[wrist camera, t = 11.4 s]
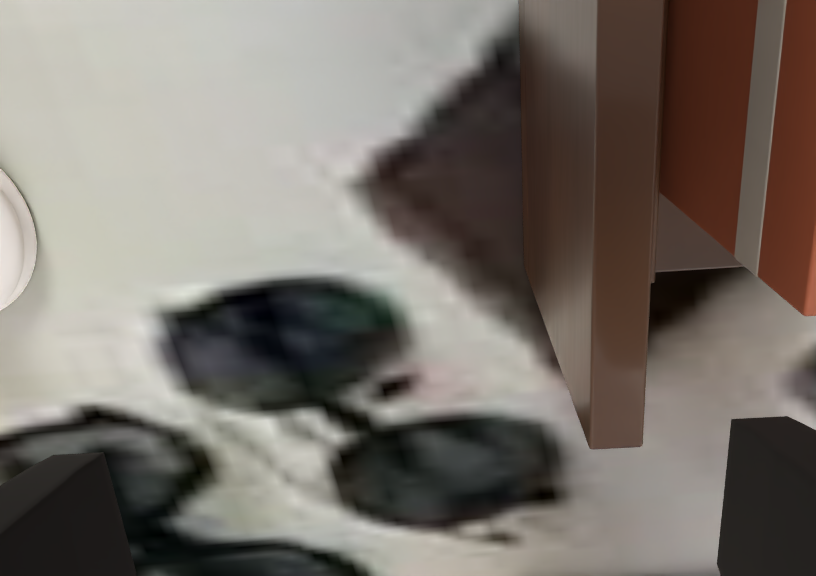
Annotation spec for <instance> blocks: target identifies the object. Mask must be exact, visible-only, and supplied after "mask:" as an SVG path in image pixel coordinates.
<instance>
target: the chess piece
mask: <svg viewBox="0 0 816 576" xmlns="http://www.w3.org/2000/svg"><path fill="white" fill-rule="evenodd" d="M36 255H37V240H36V232H35V227H34V223H33V220H32V217H31V214H30V211H29V209H28V207H27V204H26V202H25V200H24V199H23V197H22V195H21V193H20V192H19V190H18V189H17V187H16V186H15V185H14V183H13V182H12V181H11V179H10V178H9V177H8V176H7V175H6V174H5V172H4V171H3V170H2V169H1V168H0V310H2V309H4V308H5V307H7V306H8V305H10V304H11V303H12V302H13V301H14V300H16V299H17V298H18V297H19V295H20V294H21V293H22V292H23V290H24V289H25V288H26V286H27V284H28V282H29V280H30V278H31V276H32V273H33V270H34V267H35V262H36Z"/></svg>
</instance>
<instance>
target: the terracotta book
mask: <svg viewBox="0 0 816 576" xmlns="http://www.w3.org/2000/svg"><path fill="white" fill-rule="evenodd" d="M659 192H660V193H661V194H662V195H663V196H664V197H666V198H667V199H668V200H669V201H670V202H671V203H673V204H674V205H675V206H676V207H677V208H678V209H680V210H681V211H682V212H683V213H684V214H685V215H687V216H688V217H689V218H690V219H691V220H692V221H694V222H695V223H696V224H697V225H698V226H699V227H701V228H702V229H703V230H704V231H705V232H706V233H708V234H709V235H710V236H711V237H712V238H713V239H715V240H716V241H717V242H718V243H719V244H720V245H722V246H723V247H724V248H725V249H726V250H727V251H729V252H730V253H731V254H732V255H733V256H734V257H735V258H736V260H738V261H739V262H740V263H741V264H742V265H743V266H745V267H746V268H747V269H748V270H749V271H750V272H752V273H753V274H754V275H755V276H756V277H759V278H760V279H761V280H763V281H764V282H765V283H766V284H767V285H768V286H770V287H771V288H772V289H773V290H774V291H775V292H777V293H778V294H779V295H780V296H781V297H782V298H784V299H785V300H786V301H787V302H788V303H789V304H791V305H792V306H793V307H794V308H795V309H796V310H798V311H799V312H800V313H801V314H802V315H804V316H816V0H669V15H668V35H667V54H666V74H665V93H664V112H663V132H662V151H661V171H660V190H659Z"/></svg>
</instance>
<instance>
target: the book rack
mask: <svg viewBox="0 0 816 576" xmlns="http://www.w3.org/2000/svg"><path fill="white" fill-rule="evenodd" d="M668 15H669V0H519V34H520V87H521V141H522V194H523V247H524V267H525V270H526V272H527V275H528V278H529V281H530V284H531V287H532V290H533V293H534V295H535V298H536V301H537V304H538V306H539V309H540V312H541V315H542V318H543V320H544V323H545V326H546V329H547V331H548V334H549V337H550V340H551V342H552V345H553V348H554V351H555V354H556V356H557V359H558V362H559V365H560V367H561V370H562V373H563V376H564V379H565V381H566V384H567V387H568V390H569V392H570V395H571V398H572V401H573V404H574V406H575V409H576V412H577V415H578V417H579V420H580V423H581V426H582V428H583V431H584V434H585V437H586V440H587V442H588V445H589V447H590V449H610V448H630V447H641V446H642V444H643V428H644V407H645V387H646V367H647V347H648V326H649V306H650V286H651V283H654V281H655V272H667V271H683V270H700V269H716V268H732V267H745V266H743V265H742V264H741V263H740V262H739V261H738V260H736V258H735V257H734V256H733V255H732V254H731V253H730V252H729V251H727V250H726V249H725V248H724V247H723V246H722V245H720V244H719V243H718V242H717V241H716V240H715V239H713V238H712V237H711V236H710V235H709V234H708V233H706V232H705V231H704V230H703V229H702V228H701V227H699V226H698V225H697V224H696V223H695V222H694V221H692V220H691V219H690V218H689V217H688V216H687V215H685V214H684V213H683V212H682V211H681V210H680V209H678V208H677V207H676V206H675V205H674V204H673V203H671V202H670V201H669V200H668V199H667V198H666V197H664V196H663V195H662V194H661V193H660V192H659V190H660V171H661V151H662V132H663V112H664V93H665V74H666V54H667V35H668Z"/></svg>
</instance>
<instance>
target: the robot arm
mask: <svg viewBox="0 0 816 576" xmlns="http://www.w3.org/2000/svg"><path fill="white" fill-rule="evenodd" d="M717 565H718V568H719V571H720V574H721V576H816V430H814V429H812V428H810V427H808V426H806V425H804V424H802V423H800V422H798V421H796V420H794V419H792V418H790V417H788V416H784V417H765V418H746V419H731V429H730V439H729V449H728V459H727V469H726V479H725V489H724V499H723V509H722V519H721V529H720V539H719V549H718V559H717ZM0 576H137V574H136V570H135V567H134V563H133V559H132V556H131V552H130V548H129V544H128V541H127V537H126V533H125V530H124V526H123V522H122V518H121V515H120V511H119V507H118V504H117V500H116V496H115V493H114V489H113V485H112V481H111V478H110V474H109V470H108V467H107V463H106V459H105V455H104V452H102V453H83V454H64V455H52V456H50V457H49V458H47V459H45V460H43V461H41V462H39V463H37V464H35V465H34V466H32V467H30V468H29V469H27V470H25V471H23V472H22V473H20V474H18V475H17V476H15V477H14V478H12V479H10V480H9V481H7V482H6V483H4V484H2V485H1V486H0Z"/></svg>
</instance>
